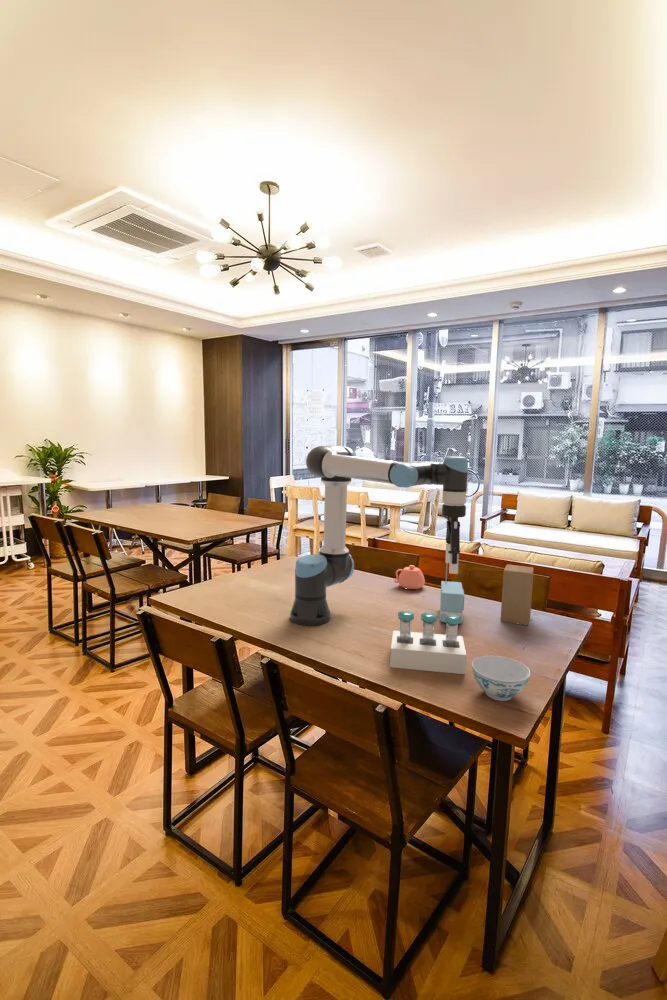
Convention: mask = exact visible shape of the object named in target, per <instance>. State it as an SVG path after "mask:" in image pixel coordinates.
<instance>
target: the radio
mask: <svg viewBox="0 0 667 1000" xmlns="http://www.w3.org/2000/svg"><path fill="white" fill-rule="evenodd" d="M445 565H446V567H445V581H444V580H441V582H440V599H439V600H440V602H439V604H440V605H439V621H440V622H442V623H445V622H444V616H445V615H448V614H453V615H457V616H459V617H460V624H462V623H463V621H464V620H463V619H464V617H463V612H464V609H465V590H464V588H463V584H462V582H459V581H449V580H448V581H447V579H448V563H445Z"/></svg>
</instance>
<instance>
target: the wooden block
mask: <svg viewBox="0 0 667 1000" xmlns="http://www.w3.org/2000/svg"><path fill="white" fill-rule="evenodd" d="M534 570H535V569H534V567H533V566H523V565H516V564H515V565H514V564H506V565H505V567H504V570H503V576H502V589H501V590H502V593H501V605H500V606H501V607H500V609H501V610H500V622H504V621H506V622H505V623H510V622H512V623H511V624H516V623H519V624H518V625H522V624H526V625H525V626H529V625H528V624H530V620H531V613H532V598H533V597H532V595H533V586H534V583H533V582H534Z"/></svg>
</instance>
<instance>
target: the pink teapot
mask: <svg viewBox="0 0 667 1000" xmlns="http://www.w3.org/2000/svg"><path fill="white" fill-rule="evenodd" d="M399 572H400V573H399ZM398 573H399V575H398ZM395 576H396V578H394V580H393V581H394V583H397V584H398V585H399V586H400V587H401V588H407V589H406V590H417V589H418V590H420V589H422V588H423V587H424V586H425V584H426V580H425V576H424V573H423V571H422V570H421V569H420V568H419V567H416V566H415V565H413V564H410V565H409V566H405V567H404V568H403V569H402V568H398V569H397V570H396V571H395ZM421 587H422V588H421Z"/></svg>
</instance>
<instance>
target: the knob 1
mask: <svg viewBox="0 0 667 1000" xmlns="http://www.w3.org/2000/svg"><path fill="white" fill-rule="evenodd" d="M414 617H415V614H414V612H412V611H410V610H401V611H398V612H397V618H398V620H399V631H400V640H399V643H406V644H410V641H411V632H412V621H414Z"/></svg>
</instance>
